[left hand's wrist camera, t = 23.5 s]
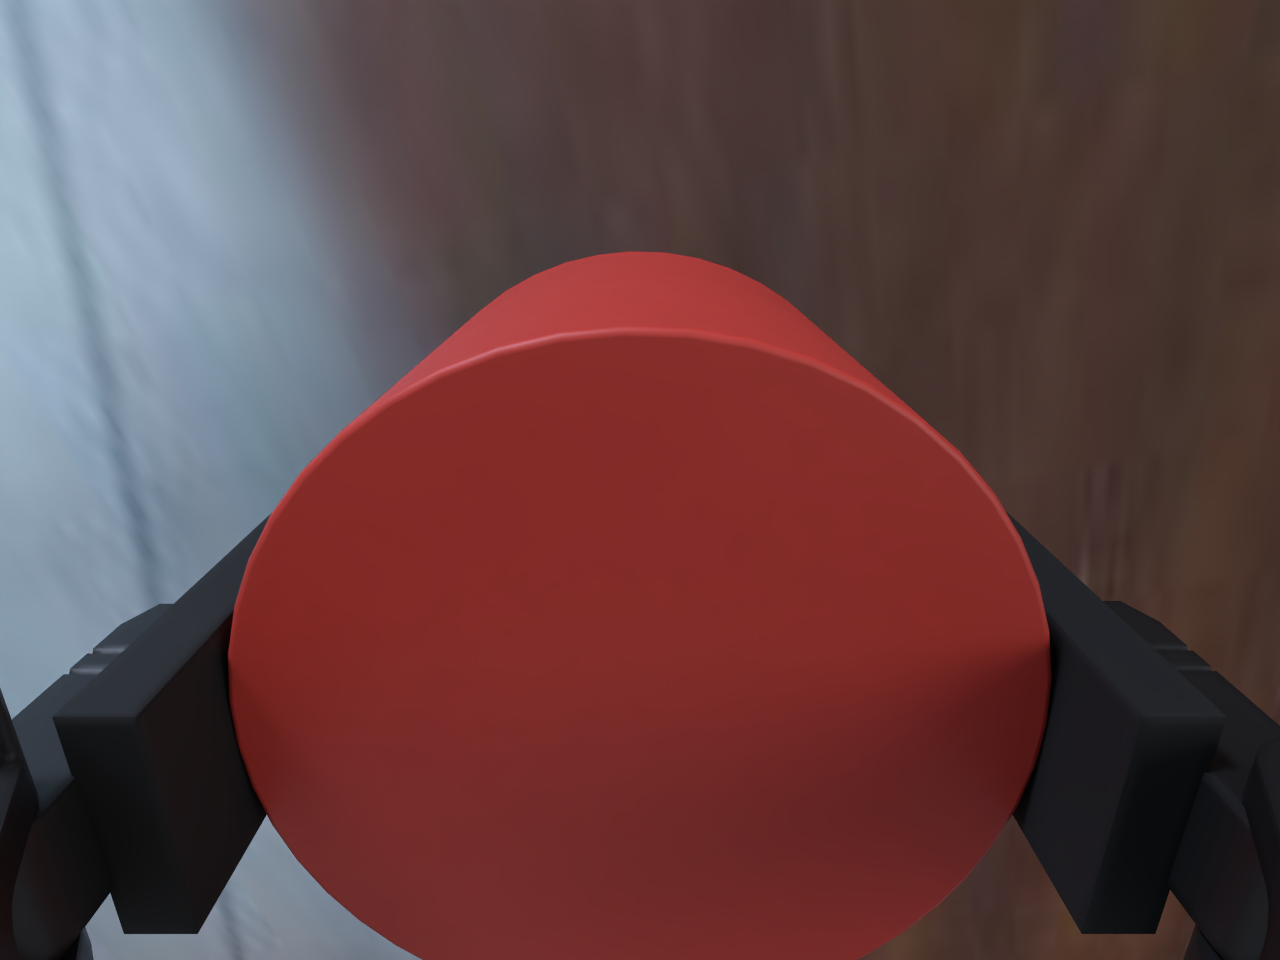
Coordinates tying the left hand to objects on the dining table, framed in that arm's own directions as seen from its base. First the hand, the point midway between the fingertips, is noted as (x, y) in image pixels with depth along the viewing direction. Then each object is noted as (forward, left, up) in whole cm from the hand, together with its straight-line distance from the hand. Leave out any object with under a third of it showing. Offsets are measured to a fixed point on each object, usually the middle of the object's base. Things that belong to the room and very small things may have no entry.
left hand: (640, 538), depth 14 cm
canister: (0, 0, -2) cm, 2 cm away
